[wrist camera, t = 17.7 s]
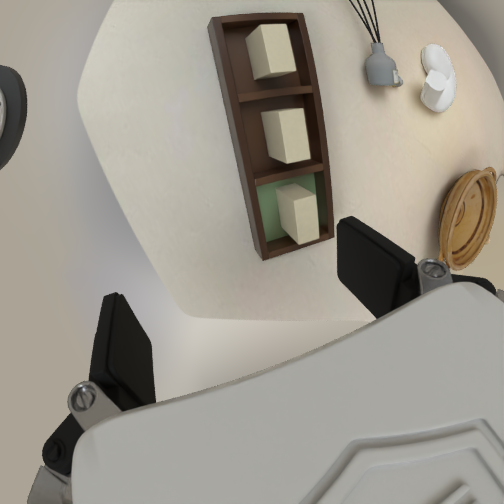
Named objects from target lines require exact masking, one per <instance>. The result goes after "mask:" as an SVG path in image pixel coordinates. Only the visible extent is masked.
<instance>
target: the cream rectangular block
mask: <svg viewBox="0 0 504 504" xmlns="http://www.w3.org/2000/svg"><path fill="white" fill-rule="evenodd" d="M275 190H276V196H277V202H278V209H279V215H280V221H281V227H282V228H283V229H284V230H285V231H286V232H287V233H288V234H289V235H290V236H291V237H292V238H293V239H294V240H295V241H296V242H297V243H298V244H299V245H300V244H303V243H306V242H310V241H313V240H316V239H319V225H318V213H317V203H316V195H315V194H313V193H312V192H310V191H308V190H306V189H305V188H303V187H301V186H299V185H298V184H296V183H293V184H289V185H285V186H281V187H277V188H275Z"/></svg>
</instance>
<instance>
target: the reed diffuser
mask: <svg viewBox="0 0 504 504" xmlns="http://www.w3.org/2000/svg"><path fill="white" fill-rule="evenodd" d="M349 1H350V2H351V4H352V5H353V7H354V8H355V10H356V12H357V13H358V15H359V16H360V18H361V20H362V21H363V23H364V24H365V26H366V28H367V30H368V31H369V33H370V35H371V37H372V39H373V42H374V43H371V47H372V53H373V54H372V55H371V56H370V57H368V58H367V60H366V62H365V64H366V70H367V76H368V81H369V84H371V85H383V86H392V87H394V86H398V87H400V86H401V85H402V84H403V80H402V79H401V77H400V76H399V75H398V70H397V69H396V64H395V62H394V60H393V59H391V58H390V57H389V56H387V55H386V54H385V51H384V47H383V43H381V42H380V35H379V29H378V23H377V17H376V12H375V7H374V2H373V0H371V1H372V5H373V10H374V15H375V21H376V27H377V31H376V28H375V25H374V23H373V20H372V17H371V14H370V12H369V9H368V7H367V4H366V2H365V0H363V1H364V4H365V6H366V9H367V11H368V14H369V17H370V19H371V22H372V25H373V28H374V31H375V34H376V37H377V40H378V43H377V42H376V41H375V39H374V37H373V34H372V32H371V29H370V26H369V24H368V21H367V19H366V16H365V14H364V11H363V9H362V7H361V4H360V2H359V0H357V2H358V4H359V6H360V9H361V11H362V13H363V16H364V18H365V21H366V23H367V25H366V23H365V21H364V20H363V18H362V17H361V15H360V13H359V12H358V10H357V9H356V7H355V6H354V4H353V3H352V1H351V0H349ZM377 33H378V34H377Z"/></svg>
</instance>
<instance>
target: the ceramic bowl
mask: <svg viewBox="0 0 504 504" xmlns="http://www.w3.org/2000/svg"><path fill="white" fill-rule="evenodd" d="M490 172H492V174H493V175H492V174H491V173H490ZM496 205H497V188H496V172H495V170H494V169H493V168H492V167H488V168H486V169H484V170H483V171H480V170H475V171H470V172H467V173H466V174H464V175H463V176H461V177H460V178H459V179H458V180H457V181H456V183H455V184H454V185H453V187H452V189H451V190H450V192H449V193H448V194H447V196H446V197H445V199H444V202H443V204H442V207H441V211H440V223H439V233H438V238H439V246H440V252H439V257H438V260H440V261H442V262H443V258H444V259H445V260H446V265H447V266H448V268H449V269H450V267H451V268H452V269H453V270H456V271H457V270H462V269H464V268H466V267H467V266H468V265H469V264H470V263H472V262H473V260H474V259H475V258H476V257H477V255H478V254H479V253H480V251H481V250H482V248H483V246H484V244H485V242H486V240H487V238H488V236H489V233H490V231H491V228H492V225H493V221H494V217H495V212H496Z"/></svg>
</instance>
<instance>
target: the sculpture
mask: <svg viewBox="0 0 504 504" xmlns="http://www.w3.org/2000/svg"><path fill="white" fill-rule="evenodd" d="M421 58H422V63H423V66H424V69H425V71H426V72H427V74H428V76H427V78H426V80H425V83H424V86H423V89H422V92H421V95H420V99H421V101H422V102H423V104H424V105H425V106H427V107H428V108H429V109H431V110H432V111H434V112H444V111H446V110H447V109H448V108H449V107H450V106H451V105H452V103H453V101H454V98H455V94H456V76H455V71H454V68H453V65H452V62H451V60H450V58H449V56H448V54H447V52H446V51H445V50H444V49H443V48H442V47H441V46H439V45H437V44H429V45H427V46H426V47H424V48H423V50H422V54H421Z"/></svg>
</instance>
